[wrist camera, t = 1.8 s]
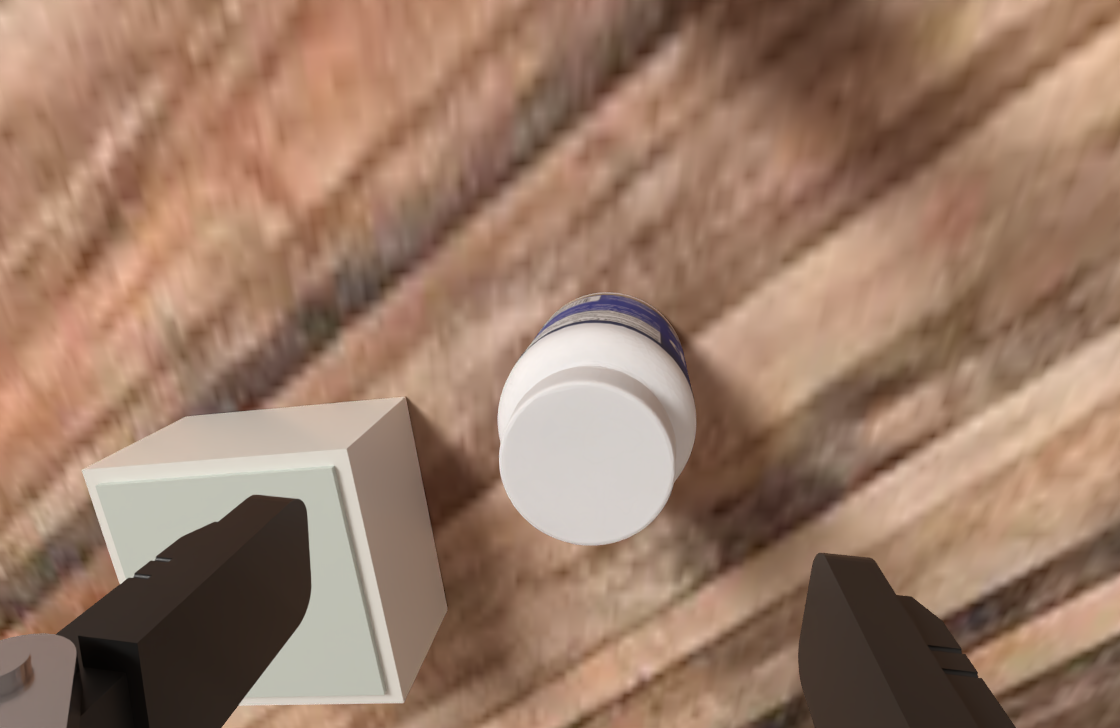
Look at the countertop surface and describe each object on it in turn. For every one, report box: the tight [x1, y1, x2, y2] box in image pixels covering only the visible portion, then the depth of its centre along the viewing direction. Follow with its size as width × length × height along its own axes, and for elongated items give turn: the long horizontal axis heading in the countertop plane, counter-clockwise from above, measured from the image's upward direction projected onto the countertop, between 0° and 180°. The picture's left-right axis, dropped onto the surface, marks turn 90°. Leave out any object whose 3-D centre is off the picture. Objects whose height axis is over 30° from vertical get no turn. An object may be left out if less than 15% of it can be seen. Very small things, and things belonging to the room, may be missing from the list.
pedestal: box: [82, 397, 448, 705], centre depth 24 cm, size 9×9×5 cm
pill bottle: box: [498, 292, 696, 545], centre depth 19 cm, size 5×5×9 cm
